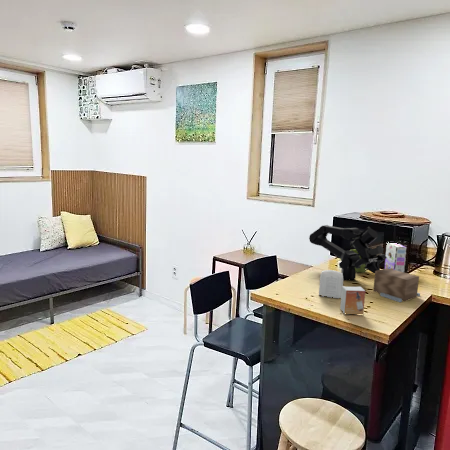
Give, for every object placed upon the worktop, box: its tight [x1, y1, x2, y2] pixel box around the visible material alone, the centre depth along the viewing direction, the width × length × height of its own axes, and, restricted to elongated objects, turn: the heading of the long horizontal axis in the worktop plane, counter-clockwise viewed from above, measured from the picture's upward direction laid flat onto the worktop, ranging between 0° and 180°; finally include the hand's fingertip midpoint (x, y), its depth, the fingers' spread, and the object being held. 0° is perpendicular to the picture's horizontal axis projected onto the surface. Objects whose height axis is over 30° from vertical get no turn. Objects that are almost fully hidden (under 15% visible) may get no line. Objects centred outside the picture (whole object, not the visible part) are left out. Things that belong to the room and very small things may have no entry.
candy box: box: [384, 241, 408, 273], centre depth 217 cm, size 14×6×16 cm, turn 179°
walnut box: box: [373, 268, 420, 302], centre depth 182 cm, size 16×10×10 cm, turn 34°
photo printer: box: [318, 269, 344, 299], centre depth 177 cm, size 10×4×12 cm, turn 72°
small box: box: [339, 285, 366, 315], centre depth 158 cm, size 8×6×10 cm
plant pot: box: [351, 248, 367, 273], centre depth 220 cm, size 12×12×11 cm
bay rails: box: [379, 292, 421, 303], centre depth 181 cm, size 10×16×1 cm, turn 124°
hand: (380, 275), depth 189 cm, fingers closed
